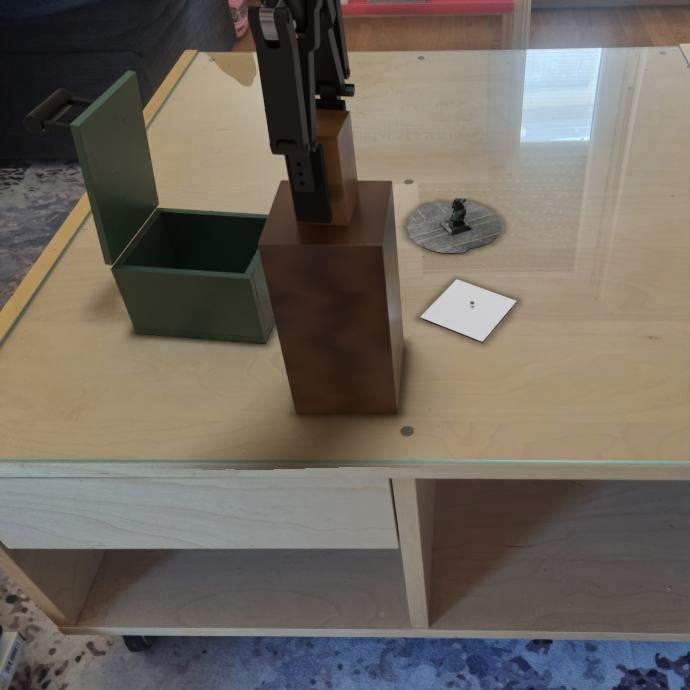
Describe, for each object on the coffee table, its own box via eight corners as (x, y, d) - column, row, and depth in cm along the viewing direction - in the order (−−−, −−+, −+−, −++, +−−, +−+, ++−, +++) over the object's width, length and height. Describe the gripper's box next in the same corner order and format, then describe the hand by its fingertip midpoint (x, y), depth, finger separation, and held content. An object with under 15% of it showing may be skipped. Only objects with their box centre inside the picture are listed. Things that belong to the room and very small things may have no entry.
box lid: (136, 71, 73) (64, 59, 73) (78, 125, 65) (-2, 112, 65) (159, 204, 84) (97, 193, 84) (112, 266, 75) (43, 253, 75)
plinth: (295, 413, 73) (257, 244, 59) (311, 343, 80) (280, 179, 67) (397, 413, 73) (382, 245, 59) (404, 344, 80) (392, 180, 67)
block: (348, 226, 61) (337, 136, 56) (296, 223, 62) (280, 133, 56) (359, 198, 64) (350, 110, 59) (310, 195, 65) (295, 107, 59)
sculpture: (515, 219, 99) (501, 198, 91) (486, 281, 98) (469, 266, 91) (439, 189, 103) (418, 167, 95) (411, 249, 102) (388, 232, 95)
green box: (295, 278, 89) (282, 215, 83) (265, 343, 80) (249, 278, 74) (177, 269, 90) (157, 207, 84) (135, 333, 82) (110, 268, 76)
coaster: (419, 317, 83) (419, 311, 83) (456, 279, 88) (456, 274, 88) (482, 341, 80) (482, 336, 80) (516, 301, 85) (517, 295, 85)
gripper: (295, -85, 39) (343, 269, 55) (371, -155, 53) (392, 141, 69) (157, -88, 40) (244, 262, 55) (269, -157, 54) (313, 137, 70)
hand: (326, 194), depth 62 cm, fingers open, 7 cm apart
